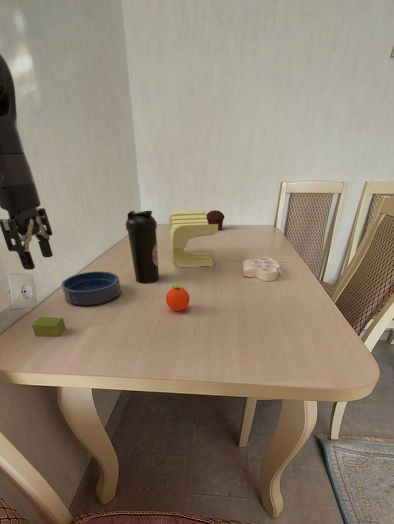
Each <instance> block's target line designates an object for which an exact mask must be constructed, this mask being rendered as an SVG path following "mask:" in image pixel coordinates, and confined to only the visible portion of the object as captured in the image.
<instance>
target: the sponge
mask: <svg viewBox="0 0 394 524" xmlns="http://www.w3.org/2000/svg"><path fill="white" fill-rule="evenodd" d="M31 327H32V330H33V332H34V335H35V337H47V338H48V337H52V338H58V337H59V338H60V337H61V335H62V334H63V333H64V332H65V331H66V330H67V326H66V323H65V319H64V317H38V318H37V320H35V321H34V323H32V324H31Z"/></svg>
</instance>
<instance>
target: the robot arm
mask: <svg viewBox="0 0 394 524" xmlns="http://www.w3.org/2000/svg"><path fill="white" fill-rule="evenodd" d="M16 97H17V96H16V88H15V81H14V78H13V73H12V71H11V69H10V67H9V65H8V63H7V61H6V59H5V58H4V56H3V55H2V54H1V53H0V209H2V210H5V211H7V214H8V218H3V219H2V218H1V219H0V229H1V233H2V235H3V239H4V242H5V244H6V247H7V250H8V251H9V252H14V253H17V255H18V258H19V260H20V263H21V266H22V268H23V269H24V270H27V271H28V270H34V269H35V268H36V265H35V262H34V260H33V257H32V254H31V251H30V242H32V239H33V236H34V237H35V238H36V239H37V243H38V245H39V249H40V253H41V255H42V257H43V258H52V257H53V251H52V247H51V244H50V240H51V238H50V236H53V230H52V227H51V224H50V221H49V218H48V214H47V211H46V209H45V207H40V206H41V200H40V196H39V193H38V190H37V189H38V188H37V185H36V182H35V178H34V176H33V172H32V171H33V170H32V169H31V166H30V163H29V161H28V158H27V156H26V154H25V153H26V152H25V149H24V145H23V142H22V139H21V135H20V131H19V130H18V129H19V128H18V111H17V100H16ZM12 240H13V242H12Z"/></svg>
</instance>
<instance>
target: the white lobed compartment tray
mask: <svg viewBox="0 0 394 524" xmlns="http://www.w3.org/2000/svg"><path fill="white" fill-rule="evenodd" d="M281 267H282V265H280V264H279V262H278V261H277V260H274V258H273V257H269V256H260V257H258V258H255V259H254V258H253V259H246V260H244V261H242V271H243V275H244V276H245V277H247V278H256V279H259V280H260V281H263V282H274V281H276V280H277V278H278V277H279V274H281V273H283V272H284V271H283V270H282V269H280V268H281Z"/></svg>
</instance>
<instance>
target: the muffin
mask: <svg viewBox="0 0 394 524" xmlns="http://www.w3.org/2000/svg"><path fill="white" fill-rule="evenodd" d="M206 216H207V220H208V224H218V232H219V231H222V229H223V224H224V220H225V214H224V213H223V212H221V211H220V210H210V211H209V212H207V213H206Z"/></svg>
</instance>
